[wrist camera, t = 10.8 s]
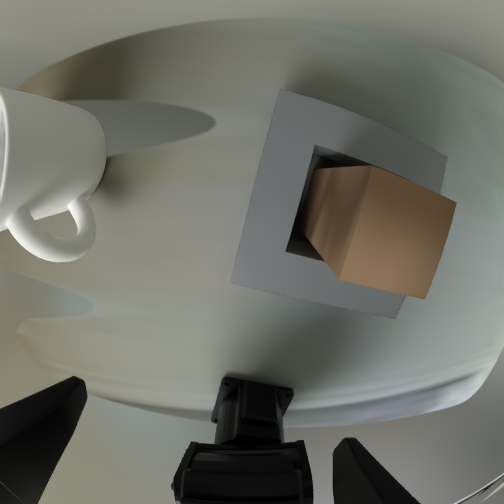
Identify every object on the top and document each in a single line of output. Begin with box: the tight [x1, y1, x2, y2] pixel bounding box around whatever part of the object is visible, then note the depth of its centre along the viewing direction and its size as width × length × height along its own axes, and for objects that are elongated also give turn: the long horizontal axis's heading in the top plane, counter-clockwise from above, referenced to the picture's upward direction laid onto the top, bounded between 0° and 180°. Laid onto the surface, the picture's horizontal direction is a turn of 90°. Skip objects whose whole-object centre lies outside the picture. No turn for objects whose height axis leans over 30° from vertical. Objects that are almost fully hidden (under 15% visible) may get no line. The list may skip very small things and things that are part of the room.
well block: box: [230, 89, 447, 319], centre depth 16 cm, size 11×11×4 cm
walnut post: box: [298, 166, 456, 299], centre depth 14 cm, size 4×4×10 cm
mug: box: [0, 87, 107, 262], centre depth 13 cm, size 12×8×10 cm
